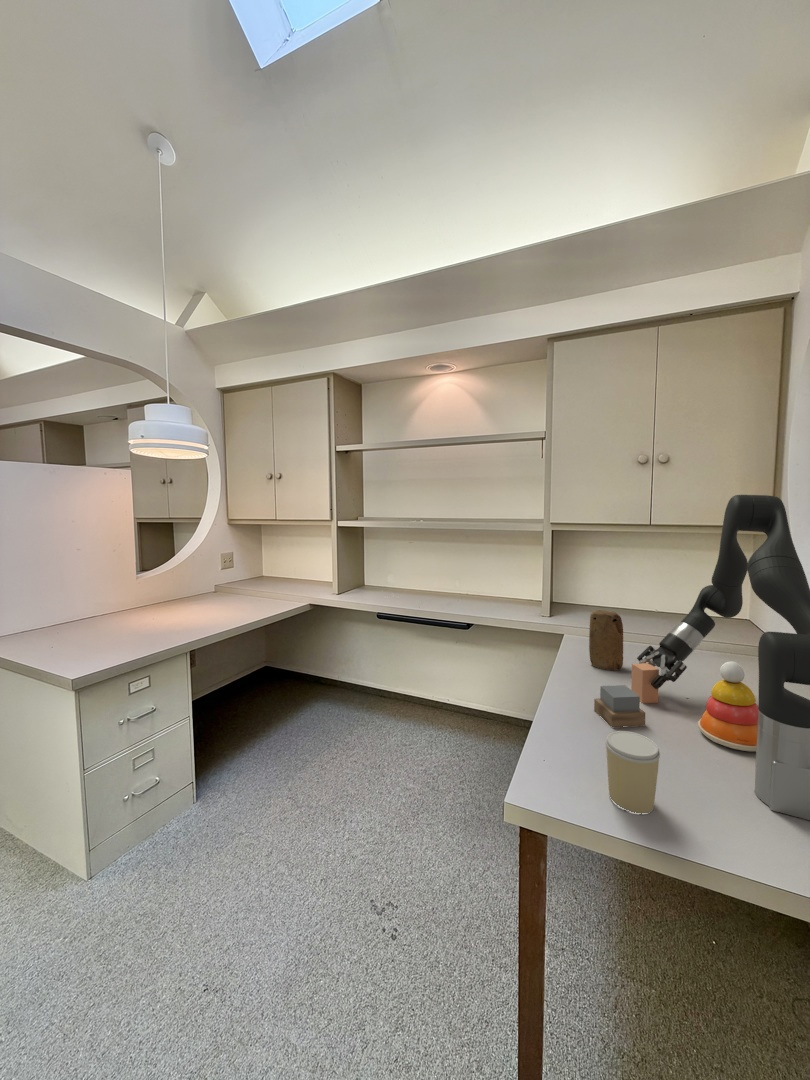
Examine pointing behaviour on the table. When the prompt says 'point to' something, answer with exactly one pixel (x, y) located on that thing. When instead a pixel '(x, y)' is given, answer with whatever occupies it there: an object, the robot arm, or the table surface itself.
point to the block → (606, 640)
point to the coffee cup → (632, 770)
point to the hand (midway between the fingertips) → (643, 680)
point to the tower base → (619, 716)
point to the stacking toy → (731, 711)
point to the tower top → (619, 698)
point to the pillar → (644, 682)
